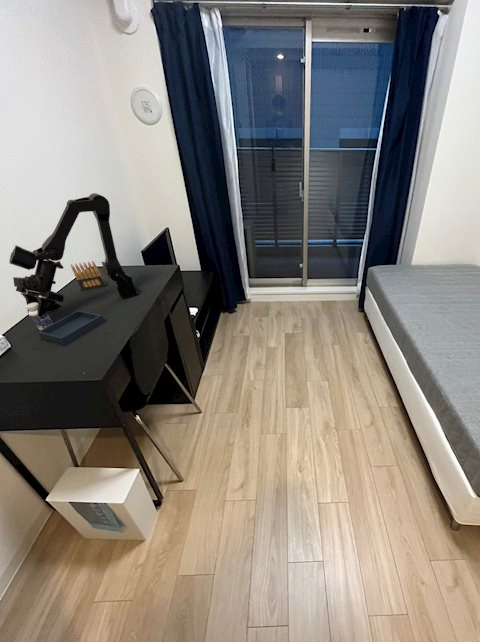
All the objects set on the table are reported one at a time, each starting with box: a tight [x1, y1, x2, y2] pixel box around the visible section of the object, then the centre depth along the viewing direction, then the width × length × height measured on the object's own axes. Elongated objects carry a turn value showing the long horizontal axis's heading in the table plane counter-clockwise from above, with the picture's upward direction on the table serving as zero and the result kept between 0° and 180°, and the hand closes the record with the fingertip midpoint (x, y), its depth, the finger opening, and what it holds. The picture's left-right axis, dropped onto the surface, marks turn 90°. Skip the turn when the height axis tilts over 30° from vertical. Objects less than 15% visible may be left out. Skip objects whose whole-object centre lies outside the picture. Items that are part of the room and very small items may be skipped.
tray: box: [37, 309, 105, 346], centre depth 125 cm, size 17×13×3 cm
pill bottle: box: [25, 302, 54, 331], centre depth 126 cm, size 5×5×10 cm
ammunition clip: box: [70, 260, 107, 292], centre depth 152 cm, size 11×2×12 cm, turn 109°
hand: (34, 315), depth 124 cm, fingers closed on pill bottle, 5 cm apart
